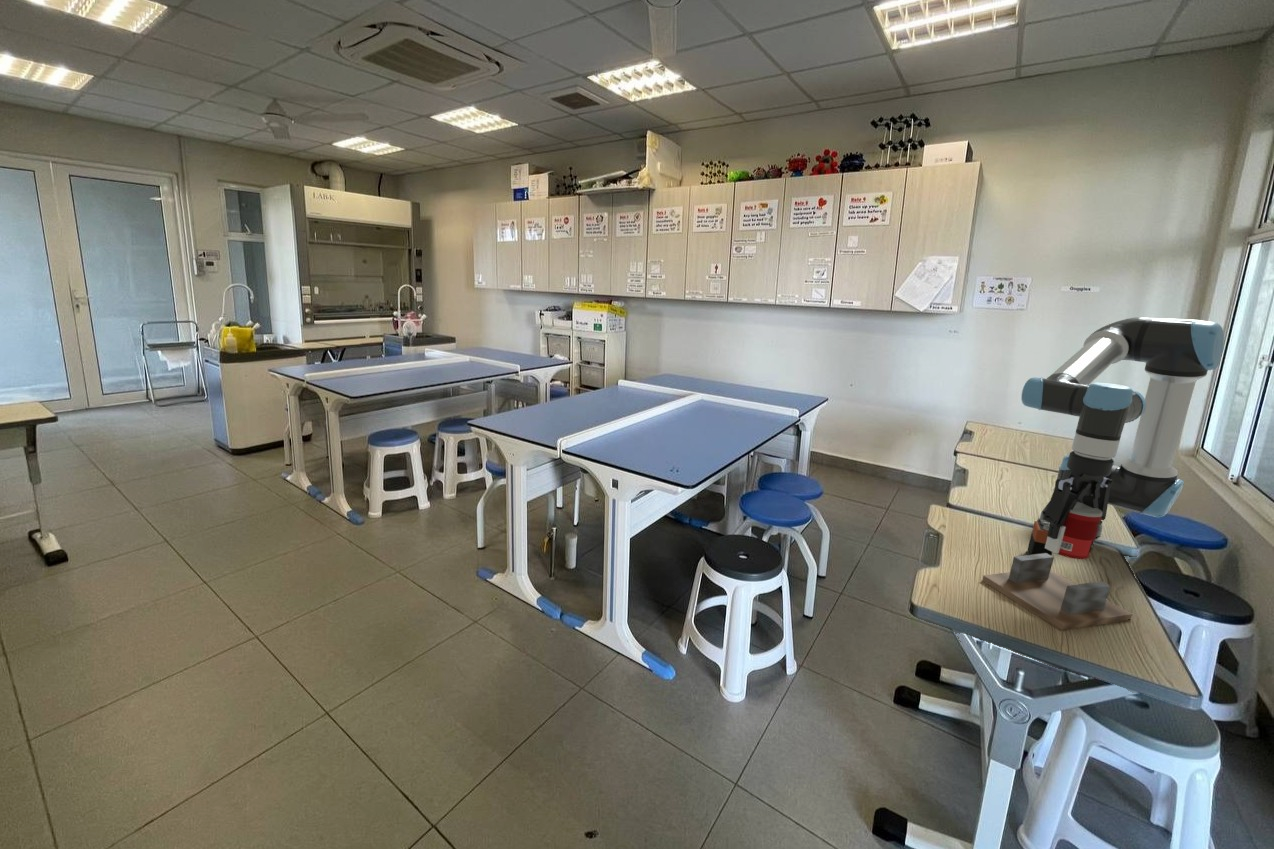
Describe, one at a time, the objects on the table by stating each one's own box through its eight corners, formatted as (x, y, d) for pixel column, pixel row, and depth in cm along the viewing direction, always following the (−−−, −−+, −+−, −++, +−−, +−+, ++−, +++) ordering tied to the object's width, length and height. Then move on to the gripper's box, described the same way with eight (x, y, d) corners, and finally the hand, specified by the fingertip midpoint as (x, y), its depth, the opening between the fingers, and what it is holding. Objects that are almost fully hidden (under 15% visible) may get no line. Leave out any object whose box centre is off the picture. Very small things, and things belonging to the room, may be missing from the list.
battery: (1046, 554, 148) (1054, 521, 146) (1049, 565, 143) (1058, 530, 140) (1026, 550, 150) (1035, 517, 148) (1029, 560, 145) (1038, 526, 142)
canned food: (1097, 562, 119) (1111, 516, 116) (1056, 557, 120) (1069, 511, 117) (1077, 546, 126) (1090, 502, 123) (1039, 541, 127) (1050, 498, 124)
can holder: (1045, 572, 139) (1052, 546, 137) (1130, 619, 120) (1140, 590, 118) (982, 580, 134) (988, 553, 132) (1061, 630, 115) (1069, 599, 113)
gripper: (1109, 447, 123) (1083, 538, 129) (1038, 451, 118) (1015, 545, 124) (1146, 458, 116) (1117, 553, 122) (1072, 462, 111) (1046, 561, 117)
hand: (1066, 549), depth 123 cm, fingers closed on canned food, 8 cm apart
